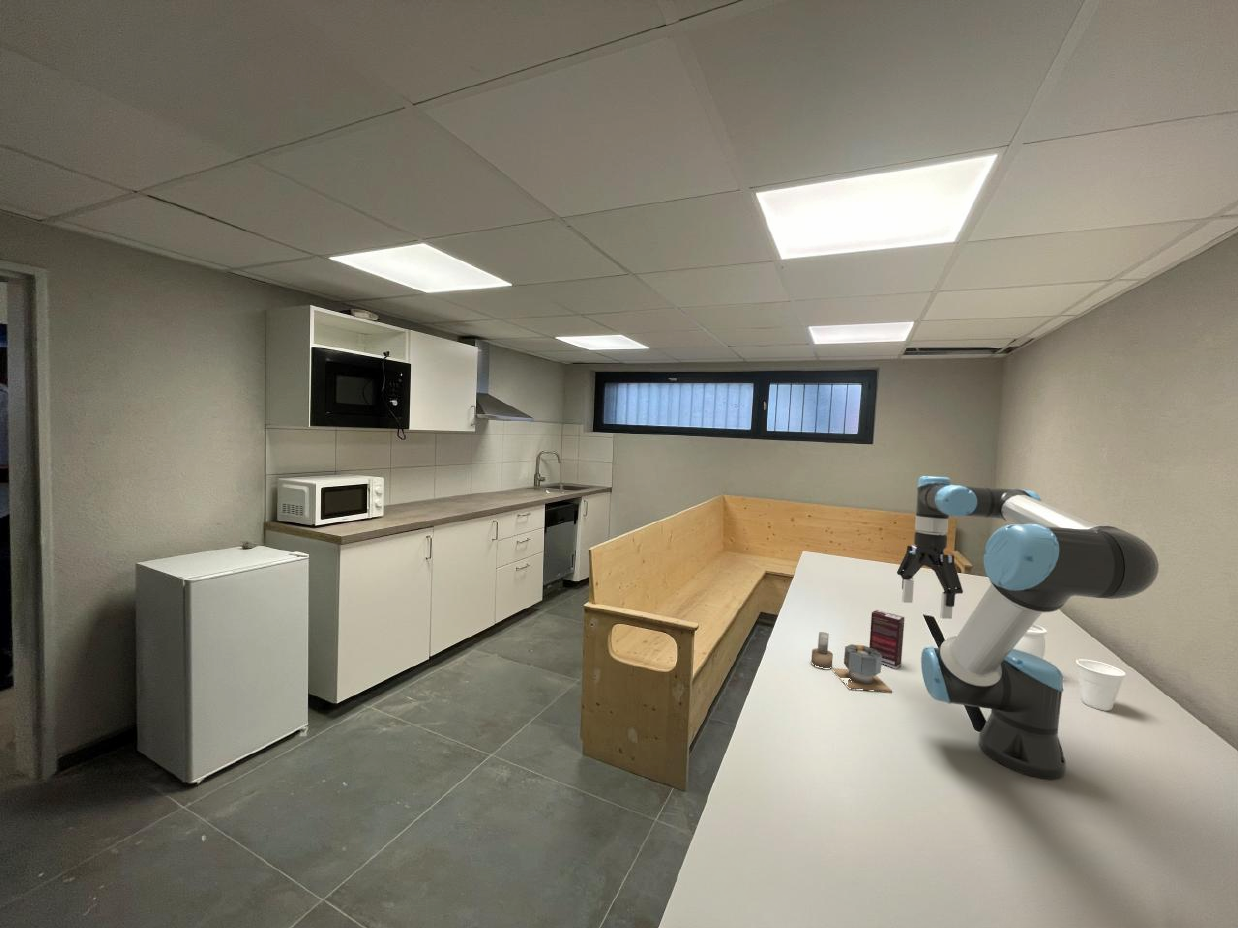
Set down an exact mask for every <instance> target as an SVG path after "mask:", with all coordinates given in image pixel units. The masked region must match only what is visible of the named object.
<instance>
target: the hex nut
mask: <svg viewBox="0 0 1238 928" xmlns="http://www.w3.org/2000/svg"><path fill="white" fill-rule="evenodd" d="M858 651H865V652H867V653H868V654H862V653H859V652H858ZM881 661H882V655H881V654H880V653H879V652H878V651H877V650H875V649H872V648H870V647H869V646H866V645H863V644H861V645H860V644H853V643H851V644H848V645H847V646H844V659H843V664H844V666H845V667H846V669H849V670H852V671H854V672H857V673H859V674H863V675H872V676H875V675H876V676H877V675H878V674H881V670H882V664H881Z"/></svg>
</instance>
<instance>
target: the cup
mask: <svg viewBox="0 0 1238 928" xmlns="http://www.w3.org/2000/svg"><path fill="white" fill-rule="evenodd" d="M1075 663H1076V665H1077V675H1078V679H1079V681H1078V682H1079V683H1078V684H1079V690H1080V698H1081V699H1080V700H1081V701H1082V703H1083V704H1084V705H1086V706H1088V707H1090V708H1092V709H1095V710H1098V711H1099V710H1100V711H1104V712H1105V711H1106V712H1109V711H1111V710H1113V708H1114V704H1115V702H1116V698H1117V696H1118V693H1119V691H1120V688H1121V686H1122V684H1123V680H1124V677H1125V676H1126V675H1127V674H1126V672H1125V671H1124V670H1122V669H1121V668H1118V667H1116V666H1113V665H1111V664H1107V663H1104V662H1100V661H1096V660H1092V659H1085V658H1083V659H1082V658H1081V659H1076V660H1075Z"/></svg>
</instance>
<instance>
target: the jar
mask: <svg viewBox="0 0 1238 928" xmlns="http://www.w3.org/2000/svg"><path fill="white" fill-rule="evenodd" d="M1047 633H1048V632H1047V629H1045V628H1044V627H1041V626H1039V625H1036V624H1033V625H1032V626H1031V627H1030V628H1029V630H1028V631H1027V632H1026V633H1025V635H1024V636H1023V637H1022V638H1021V639H1020V641H1019V642H1018V643H1017V644H1016V645H1015V647H1014V648H1013V649H1016V650H1020V651H1023V652H1026V653H1029V654H1032V655H1034V656H1037V657H1039V658H1042V659H1043V658H1044V656H1045V653H1046V640H1045V636H1046V635H1047Z"/></svg>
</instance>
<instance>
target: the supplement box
mask: <svg viewBox="0 0 1238 928" xmlns="http://www.w3.org/2000/svg"><path fill="white" fill-rule="evenodd" d="M870 617H871V619H870V633H869V634H870V635H869V646H868V647H870V648H872V649H875V650H877V651H878V652H879V653H880V654H881V655H882V661H881V665H883V664H884V665H883V666H885V665H887V666H886V667H888V666H889V667H888V668H891V667H892V668H891V669H895V670H898V669H899V668H900V667H901V666H902V659H903V643H904V630H905V616H902V615H898V614H896V613H895V614H894V613H889V612H887V611H883V610H879V609H876V610H874V611H871V616H870ZM899 666H900V667H899Z"/></svg>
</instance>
